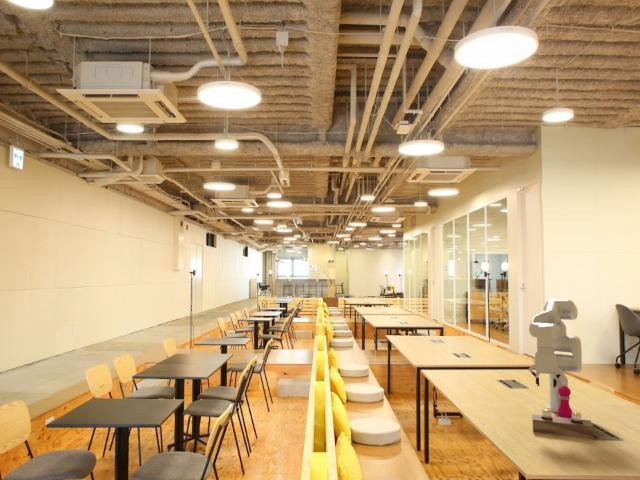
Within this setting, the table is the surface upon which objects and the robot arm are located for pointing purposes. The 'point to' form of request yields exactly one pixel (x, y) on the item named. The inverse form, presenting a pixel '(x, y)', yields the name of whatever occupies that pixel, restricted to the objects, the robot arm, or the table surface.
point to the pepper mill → (564, 402)
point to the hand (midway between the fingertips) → (546, 386)
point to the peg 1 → (546, 414)
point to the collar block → (563, 427)
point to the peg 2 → (576, 417)
